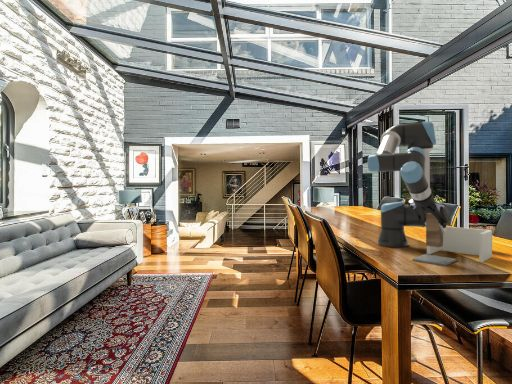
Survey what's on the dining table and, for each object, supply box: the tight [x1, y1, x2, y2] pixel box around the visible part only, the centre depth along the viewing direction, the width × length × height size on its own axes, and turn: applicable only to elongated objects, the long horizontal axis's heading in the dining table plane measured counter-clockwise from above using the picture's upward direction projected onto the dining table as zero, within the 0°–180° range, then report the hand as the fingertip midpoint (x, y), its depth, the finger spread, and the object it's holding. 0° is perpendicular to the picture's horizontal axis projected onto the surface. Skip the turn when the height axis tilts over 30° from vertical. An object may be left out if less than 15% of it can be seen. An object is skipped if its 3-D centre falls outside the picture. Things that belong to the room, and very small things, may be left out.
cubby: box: [426, 226, 493, 263], centre depth 148 cm, size 14×22×12 cm, turn 40°
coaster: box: [411, 253, 457, 267], centre depth 140 cm, size 13×13×1 cm
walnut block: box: [425, 213, 443, 247], centre depth 139 cm, size 5×5×14 cm
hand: (437, 230), depth 141 cm, fingers closed on walnut block, 5 cm apart
